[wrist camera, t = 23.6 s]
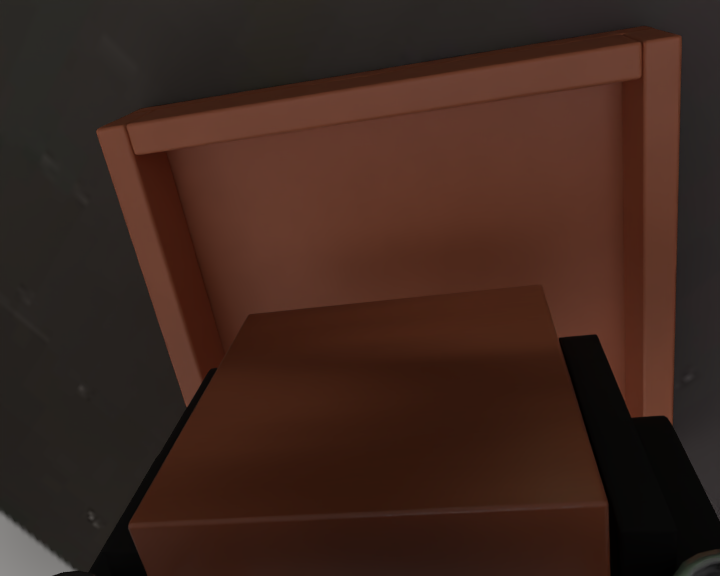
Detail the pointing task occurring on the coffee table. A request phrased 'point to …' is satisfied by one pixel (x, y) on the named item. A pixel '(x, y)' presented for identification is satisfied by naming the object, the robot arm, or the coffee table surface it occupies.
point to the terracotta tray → (421, 197)
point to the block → (384, 449)
